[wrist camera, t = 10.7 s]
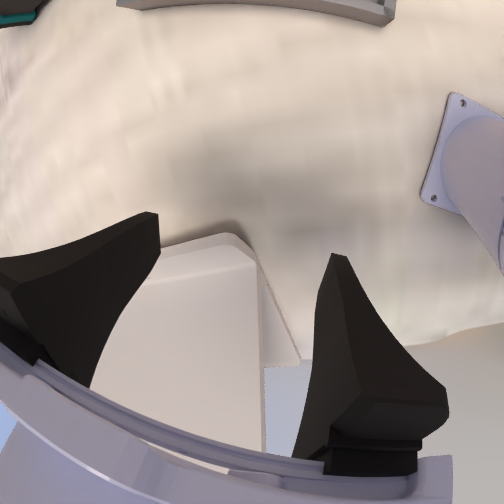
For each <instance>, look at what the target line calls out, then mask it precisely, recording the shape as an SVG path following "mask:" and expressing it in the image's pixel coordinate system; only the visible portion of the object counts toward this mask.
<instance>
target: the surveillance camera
mask: <svg viewBox="0 0 504 504" xmlns="http://www.w3.org/2000/svg"><path fill="white" fill-rule="evenodd" d="M42 1H43V0H0V29H1V28H7V27H14V26H22V25H30V24H31V23H32V21H33V20H34V18H35V16H36V13H35V10H34V9H35V8H36V7H37V6H38V5H39V4H40V3H41V2H42Z"/></svg>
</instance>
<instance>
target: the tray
mask: <svg viewBox="0 0 504 504" xmlns="http://www.w3.org/2000/svg"><path fill="white" fill-rule="evenodd" d="M195 4H258V5H272V6H282V7H291V8H299V9H305V10H312V11H318V12H323V13H328V14H333V15H338V16H342V17H347V18H351V19H355V20H359V21H363V22H366V23H370V24H373V25H377V26H380V27H384V26H386V25H387V24H388V23H390V22H391V21H392V20H393V19H394V16H395V8H396V0H117V2H116V6H119V7H125V8H130V9H136V10H141V11H142V10H148V9H155V8H162V7H171V6H181V5H195Z"/></svg>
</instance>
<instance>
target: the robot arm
mask: <svg viewBox="0 0 504 504" xmlns="http://www.w3.org/2000/svg"><path fill="white" fill-rule="evenodd" d="M461 100H463V101H464V105H463V106H461V105H460V101H461ZM433 195H436V197H435V199H433V200H431V197H432V196H433ZM420 196H421V198H422V200H423V201H424V202H425V203H428V204H431V205H434V206H437V207H440V208H443V209H445V210H448V211H451V212H454V213H456V214H459V215H461V216H464V218H465V219H466V220H467V222H468V223H469V224H470V226H471V227H472V228H473V230H474V231H475V232H476V234H477V235H478V237H479V238H480V240H481V241H482V242H483V244H484V245H485V247H486V248H487V250H488V251H489V253H490V254H491V256H492V258H493V259H494V261H495V262H496V264H497V266H498V267H499V269H500V270H501V272H502V274H503V275H504V118H502V117H500V116H499V115H497V114H496V113H494V112H492V111H490V110H489V109H487V108H485V107H484V106H482V105H480V104H478V103H476V102H474V101H473V100H471V99H469V98H467V97H465V96H463V95H461V94H459V93H455V92H453V93H451V94H450V95H449V98H448V103H447V107H446V111H445V115H444V119H443V123H442V127H441V130H440V134H439V138H438V141H437V144H436V148H435V151H434V154H433V158H432V161H431V164H430V167H429V170H428V173H427V176H426V179H425V182H424V185H423V187H422V190H421V194H420ZM160 254H161V248H160V235H159V220H158V214H156V213H151V212H143V213H140V214H137V215H135V216H132V217H130V218H128V219H125V220H123V221H121V222H119V223H116V224H114V225H112V226H110V227H108V228H105V229H103V230H101V231H98V232H96V233H94V234H91V235H89V236H87V237H84V238H82V239H79V240H76V241H74V242H71V243H68V244H65V245H62V246H59V247H55V248H51V249H48V250H44V251H40V252H36V253H31V254H26V255H20V256H13V257H4V258H0V402H1V403H2V404H3V405H4V406H5V407H6V408H7V411H8V412H9V413H10V414H11V415H12V416H14V417H15V418H16V419H17V420H18V422H17V424H16V426H15V427H14V429H13V431H12V433H11V434H10V436H9V438H8V440H7V442H6V444H5V446H4V447H3V449H2V451H1V453H0V504H452V492H453V491H452V490H453V467H452V455H442V456H429V457H423V458H420V459H417V451H420V450H421V449H422V439H423V438H424V437H426V436H428V435H429V434H431V433H432V432H434V431H435V430H437V429H438V428H439V427H441V426H442V425H443V424H444V423H445V422H446V420H447V419H448V418H449V406H448V399H447V392H446V388H445V387H444V386H443V385H442V384H440V383H439V382H438V381H437V380H436V379H435V378H433V377H432V376H431V375H430V374H429V373H428V372H426V371H425V370H424V369H423V368H422V367H421V366H420V365H419V364H418V363H417V362H416V361H415V360H414V359H413V358H412V356H411V355H410V354H409V353H408V352H407V351H406V350H405V349H404V348H403V346H402V345H401V344H400V343H399V342H398V340H397V339H396V338H395V337H394V336H393V334H392V333H391V332H390V330H389V329H388V328H387V326H386V325H385V323H384V322H383V321H382V319H381V318H380V316H379V315H378V313H377V312H376V310H375V308H374V307H373V305H372V304H371V302H370V300H369V299H368V297H367V295H366V293H365V291H364V289H363V288H362V286H361V284H360V282H359V280H358V278H357V276H356V274H355V272H354V270H353V268H352V266H351V264H350V262H349V260H348V258H347V257H346V256H342V255H338V254H334V253H331V256H330V259H329V262H328V265H327V268H326V271H325V274H324V277H323V279H322V282H321V285H320V288H319V290H318V295H317V302H316V309H315V321H314V345H313V362H312V371H311V377H310V383H309V388H308V393H307V398H306V403H305V407H304V412H303V416H302V420H301V424H300V428H299V432H298V436H297V439H296V443H295V446H294V450H293V453H292V457H291V458H290V457H284V456H279V455H274V454H269V453H264V452H259V451H254V450H250V449H246V448H241V447H237V446H234V445H230V444H226V443H222V442H219V441H215V440H212V439H208V438H205V437H202V436H199V435H196V434H193V433H190V432H187V431H184V430H181V429H178V428H175V427H172V426H170V425H167V424H164V423H162V422H159V421H157V420H154V419H152V418H149V417H147V416H144V415H142V414H140V413H137V412H135V411H133V410H131V409H128V408H126V407H124V406H122V405H120V404H118V403H116V402H114V401H111V400H109V399H107V398H105V397H103V396H102V395H100V394H98V393H96V392H94V391H92V390H90V385H91V382H92V379H93V376H94V373H95V370H96V367H97V364H98V362H99V359H100V357H101V354H102V352H103V349H104V347H105V345H106V342H107V340H108V338H109V336H110V334H111V332H112V330H113V328H114V326H115V324H116V322H117V320H118V318H119V316H120V315H121V313H122V312H123V310H124V308H125V307H126V305H127V304H128V303H129V301H130V300H131V299H132V297H133V296H134V294H135V293H136V292H137V290H138V289H139V287H140V286H141V285H142V283H143V282H144V281H145V279H146V278H147V276H148V275H149V274H150V272H151V271H152V269H153V267H154V265H155V264H156V262H157V260H158V258H159V256H160ZM140 438H141V439H143V440H145V441H148V442H150V443H153V444H155V445H157V446H160V447H163V448H165V449H168V450H170V451H173V452H176V453H179V454H182V455H184V456H187V457H190V458H193V459H197V460H200V461H203V462H206V463H210V464H213V465H217V466H220V467H224V468H228V469H231V470H229V471H228V473H227V475H226V474H223V473H220V472H217V471H214V470H211V469H208V468H205V467H202V466H200V465H197V464H194V463H192V462H189V461H187V460H184V459H182V458H179V457H177V456H174V455H172V454H170V453H167V452H165V451H163V450H160V449H158V448H156V447H154V446H151V445H149V444H148V443H146V442H145V441H143V440H141V439H140Z"/></svg>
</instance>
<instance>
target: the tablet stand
mask: <svg viewBox="0 0 504 504" xmlns="http://www.w3.org/2000/svg"><path fill="white" fill-rule="evenodd" d="M300 362H301V356H300V354H299V351H298V349H297V347H296V345H295V342H294V340H293V338H292V336H291V333H290V331H289V329H288V327H287V324H286V322H285V320H284V318H283V315H282V313H281V311H280V309H279V306H278V304H277V302H276V300H275V297H274V295H273V293H272V291H271V288H270V286H269V284H268V282H267V279H266V277H265V275H264V273H263V271H262V268H261V266H260V264H259V262H258V259H257V257H256V255H255V253H254V251H253V250H252V249H251V248H250V247H249V246H248V245H247V244H245V243H244V242H243V241H242V240H241V239H240V238H239V237H238V236H236V235H235V234H232V233H219V234H215V235H211V236H207V237H203V238H199V239H195V240H191V241H188V242H184V243H180V244H176V245H172V246H169V247H165V248H161V254H160V256H159V258H158V260H157V262H156V264H155V265H154V267H153V269H152V271H151V272H150V274H149V275H148V276H147V278H146V279H145V281H144V282H143V283H142V285H141V286H140V287H139V289H138V290H137V292H136V293H135V294H134V296H133V297H132V299H131V300H130V301H129V303H128V304H127V305H126V307H125V308H124V310H123V312H122V313H121V315H120V316H119V318H118V320H117V322H116V324H115V326H114V328H113V330H112V332H111V334H110V336H109V338H108V340H107V342H106V345H105V347H104V349H103V352H102V354H101V357H100V359H99V362H98V364H97V367H96V370H95V373H94V376H93V379H92V382H91V385H90V390H92V391H94V392H96V393H98V394H100V395H102V396H103V397H105V398H107V399H109V400H111V401H114V402H116V403H118V404H120V405H122V406H124V407H126V408H128V409H131V410H133V411H135V412H137V413H140V414H142V415H144V416H147V417H149V418H152V419H154V420H157V421H159V422H162V423H164V424H167V425H170V426H172V427H175V428H178V429H181V430H184V431H187V432H190V433H193V434H196V435H199V436H202V437H205V438H208V439H212V440H215V441H219V442H222V443H226V444H230V445H234V446H237V447H241V448H246V449H250V450H254V451H259V452H264V453H266V428H265V390H264V368H265V367H286V366H297V365H299V364H300ZM140 439H141V438H140ZM141 440H143V439H141ZM143 441H145V440H143ZM145 442H146V443H148V444H149V445H151V446H154V447H156V448H158V449H160V450H163V451H165V452H167V453H170V454H172V455H174V456H177V457H179V458H182V459H184V460H187V461H189V462H192V463H194V464H197V465H200V466H202V467H205V468H208V469H211V470H214V471H217V472H220V473H223V474H226V475H227V473H228V471H229V470H231V469H228V468H224V467H220V466H217V465H213V464H210V463H206V462H203V461H200V460H197V459H193V458H190V457H187V456H184V455H182V454H179V453H176V452H173V451H170V450H168V449H165V448H163V447H160V446H157V445H155V444H153V443H150V442H148V441H145Z"/></svg>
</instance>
